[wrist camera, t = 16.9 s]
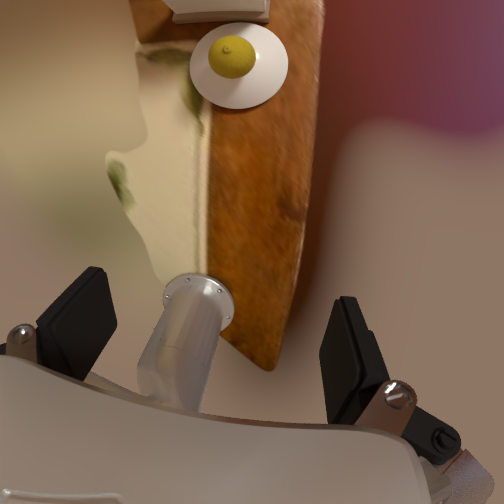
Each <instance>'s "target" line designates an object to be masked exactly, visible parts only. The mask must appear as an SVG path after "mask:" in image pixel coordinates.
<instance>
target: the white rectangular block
mask: <svg viewBox="0 0 504 504" xmlns="http://www.w3.org/2000/svg"><path fill="white" fill-rule="evenodd" d="M162 1H163V2H164V3H165V4H166V5H167V6H168V7H170V8H171V9H172V10H173V18H172V21H173V22H174V23H176V24H186V23H200V22H261V23H269V16H270V5H271V0H162Z"/></svg>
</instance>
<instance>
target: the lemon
mask: <svg viewBox="0 0 504 504" xmlns="http://www.w3.org/2000/svg"><path fill="white" fill-rule="evenodd" d="M208 61H209V64H210V66H211V68H212V70H213V71H214V72H215V73H216V74H218V75H219V76H221V77H224V78H229V79H236V78H240V77H243V76H245V75H246V74H248V73H249V72H250V71H251V70H252V68H253V67H254V65H255V61H256V53H255V50H254V48H253V46H252V45H251V43H249V42H248V41H247V40H246V39H244V38H242V37H239V36H234V35H229V36H224V37H222V38H219V39H218V40H216V41H215V42H214V43H213V44H212V46H211V47H210V50H209V53H208Z"/></svg>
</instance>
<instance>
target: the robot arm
mask: <svg viewBox="0 0 504 504" xmlns="http://www.w3.org/2000/svg"><path fill="white" fill-rule="evenodd" d="M163 305H164V308H165V310H164V312H163V314H162V316H161V318H160V320H159V322H158V324H157V326H156V327H155V329H154V332H153V334H152V336H151V337H150V340H149V341H148V344H147V346H146V347H145V349H144V351H143V353H142V355H141V358H140V360H139V362H138V366H137V382H138V386H139V390H140V392H141V395H140V394H138V393H135V392H132V391H130V390H128V389H126V388H124V387H122V386H119V385H117V384H115V383H113V382H111V381H109V380H107V379H106V378H104V377H101V376H99V375H97V374H96V373H94V372H91V371H90V370H91V368H92V367H93V365H94V363H95V362H96V360H97V358H98V357H99V355H100V354H101V352H102V350H103V349H104V347H105V345H106V344H107V342H108V341H109V339H110V338H111V336H112V335H113V333H114V331H115V330H116V328H117V319H116V315H115V311H114V306H113V302H112V297H111V293H110V288H109V283H108V278H107V274H106V272H104V270H103V269H102V268H99V267H93V266H90V267H88V268H87V269H86V270H85V271H84V272H83V273H82V274H81V275H80V276H79V277H78V278H77V279H76V280H75V281H74V282H73V283H72V284H71V285H70V286H69V287H68V288H67V289H66V290H65V291H64V292H63V293H62V294H61V295H60V296H59V297H58V298H57V299H56V300H55V301H54V302H53V303H52V304H51V305H50V306H49V307H48V309H46V311H45V312H44V313H43V314H42V315H41V316H40V317H39V318H38V319H37V320H36V323H37V326H38V327H37V328H36V329H35V328H34V326H32V325H30V324H20V325H18V326H16V327H14V328H13V329H12V330H11V331H10V332H9V334H8V336H7V342H6V343H4V344H1V345H0V504H485V503H486V501H487V500H488V498H489V497H490V496H491V494H492V492H493V489H494V480H493V478H492V476H491V475H490V473H488V472H487V470H486V469H485V468H484V467H483V466H482V465H481V464H480V463H479V462H478V461H477V460H476V459H475V458H474V457H473V456H472V454H471V453H470V452H469V451H468V450H467V449H465V450H464V451H463V450H462V449H461V448H460V447H461V439H460V436H459V434H458V432H457V431H456V430H455V429H454V428H453V427H451V426H449V425H448V424H446V423H444V422H443V421H441V420H439V419H437V418H436V417H434V416H432V415H431V414H429V413H427V412H426V411H424V410H422V409H421V408H419V407H418V406H416V404H417V395H416V393H415V391H414V389H413V388H412V387H411V386H410V385H408V384H407V383H405V382H403V381H400V380H390V377H389V374H388V371H387V369H386V366H385V363H384V360H383V357H382V354H381V352H380V349H379V346H378V344H377V341H376V338H375V336H374V333H373V332H372V331H371V330H368V328H367V325H366V323H365V320H364V317H363V315H362V312H361V309H360V307H359V304H358V302H357V299H356V298H355V297H349V296H341V297H340V299H339V300H338V299H336V300H335V302H334V305H333V309H332V312H331V315H330V319H329V322H328V326H327V329H326V332H325V335H324V338H323V341H322V344H321V347H320V351H319V352H320V353H319V359H320V364H321V365H320V366H321V373H322V380H323V388H324V395H325V404H326V412H327V421H328V424H307V423H285V422H272V421H259V420H248V419H239V418H231V417H224V416H216V415H210V414H204V413H202V409H203V402H204V398H205V393H206V388H207V384H208V380H209V376H210V371H211V367H212V363H213V359H214V355H215V351H216V347H217V342H218V338H219V334H220V331H222V330H223V329H225V328H226V327H227V326H228V325H229V324H230V322H231V320H232V318H233V315H234V307H235V306H234V301H233V298H232V296H231V294H230V292H229V291H228V289H227V288H226V287H225V286H224V285H223V284H222V283H220V282H219V281H218V280H216V279H214V278H212V277H210V276H207V275H204V274H199V273H187V274H182V275H180V276H177V277H176V278H174V279H173V280H172V281H171V282H170V283H169V284H168V286H167V287H166V289H165V292H164V294H163Z"/></svg>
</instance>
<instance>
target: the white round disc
mask: <svg viewBox="0 0 504 504" xmlns="http://www.w3.org/2000/svg"><path fill="white" fill-rule="evenodd" d="M229 35H234V36H239V37H242V38H244V39H246V40H247V41H248V42H249V43H251V45H252V46H253V48H254V50H255V53H256V61H255V65H254V67H253V68H252V70H251V71H250V72H249V73H248V74H246V75H245V76H243V77H240V78H236V79H229V78H224V77H221V76H219V75H218V74H216V73H215V72H214V71H213V70H212V68H211V66H210V64H209V61H208V53H209V50H210V47H211V46H212V44H213V43H214V42H215V41H216V40H218V39H219V38H222V37H224V36H229ZM287 70H288V58H287V53H286V50H285V48H284V46H283V44H282V43H281V41H280V40H279V39H278V38H277V36H276V35H274V34H273V33H272V32H271V31H269V30H267V29H266V28H264V27H262V26H259V25H256V24H252V23H244V22H237V23H229V24H226V25H222V26H220V27H217V28H215V29H214V30H212V31H210V32H209V33H207V34H206V35H205V36H204V37H203V38H202V39H201V40H200V41H199V42H198V44H197V45H196V47H195V49H194V51H193V53H192V56H191V59H190V76H191V79H192V82H193V84H194V86H195V88H196V89H197V91H198V92H199V93H200V94H201V95H202V96H203V97H204V98H205V99H207V100H208V101H210V102H212V103H214V104H216V105H219V106H221V107H225V108H230V109H245V108H250V107H254V106H257V105H260V104H262V103H264V102H265V101H267V100H268V99H270V98H271V97H272V96H273V95H275V94H276V92H277V91H278V90H279V89H280V87H281V86H282V84H283V82H284V80H285V78H286V74H287Z"/></svg>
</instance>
